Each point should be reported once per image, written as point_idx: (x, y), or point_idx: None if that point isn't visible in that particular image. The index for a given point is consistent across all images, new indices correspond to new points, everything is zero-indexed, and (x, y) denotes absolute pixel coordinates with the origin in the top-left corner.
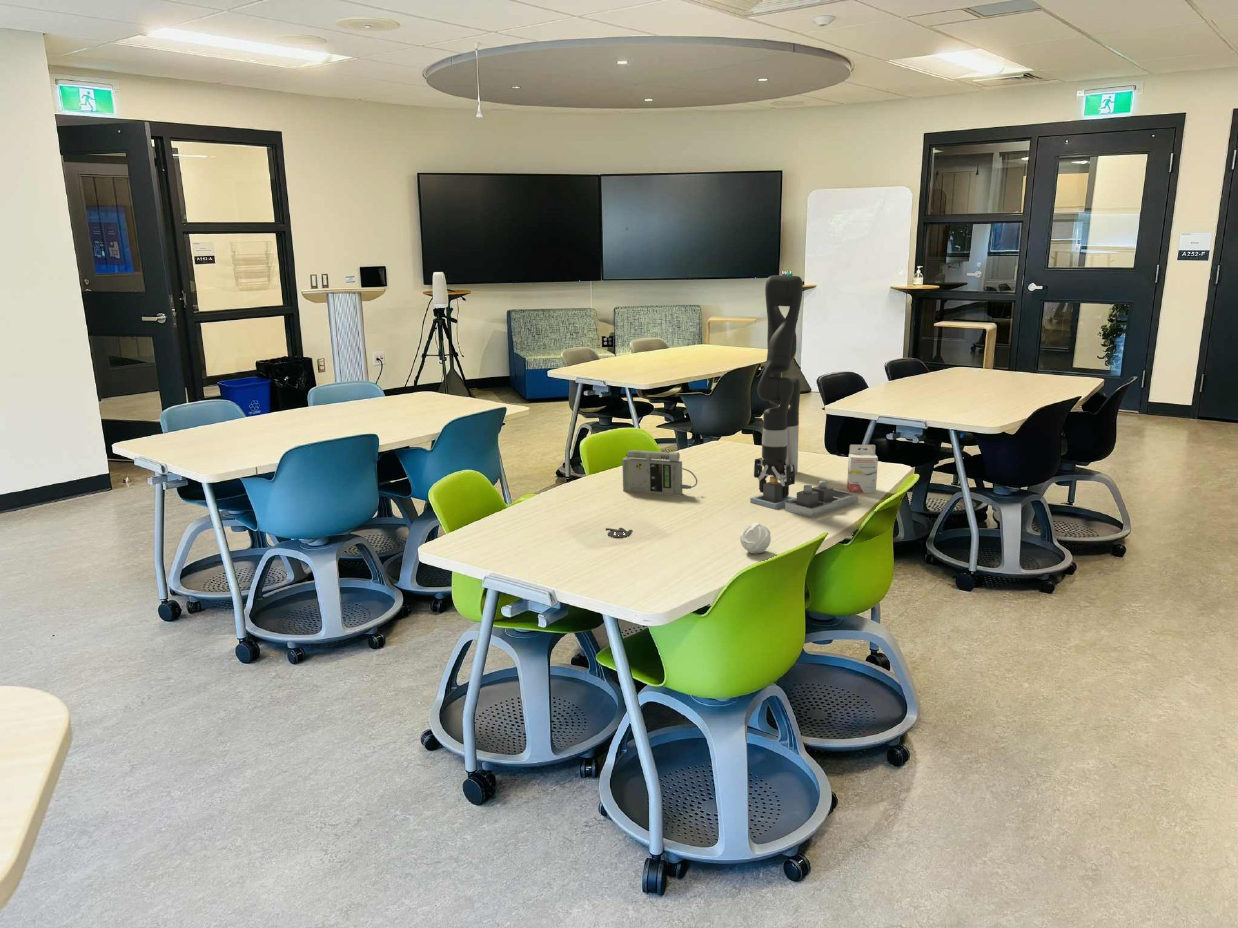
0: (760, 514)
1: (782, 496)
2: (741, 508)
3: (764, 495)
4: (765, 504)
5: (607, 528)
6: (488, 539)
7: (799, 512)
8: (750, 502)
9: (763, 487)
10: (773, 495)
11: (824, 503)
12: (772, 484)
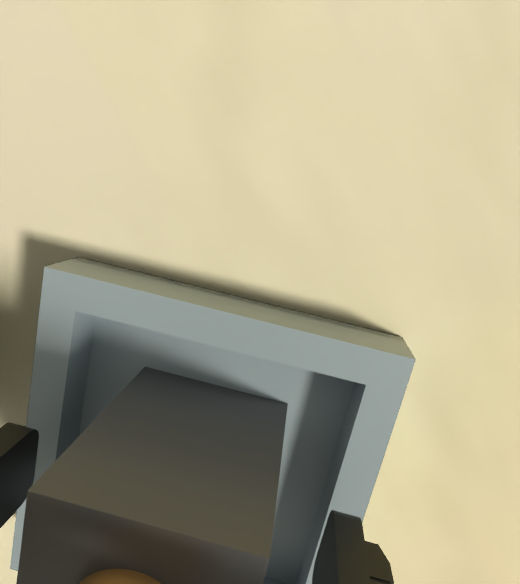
0: (120, 43)
1: (9, 429)
2: (406, 128)
3: (261, 438)
4: (190, 294)
5: None
6: None
7: None
8: (401, 340)
9: (270, 510)
10: (115, 418)
11: None
12: (112, 568)
